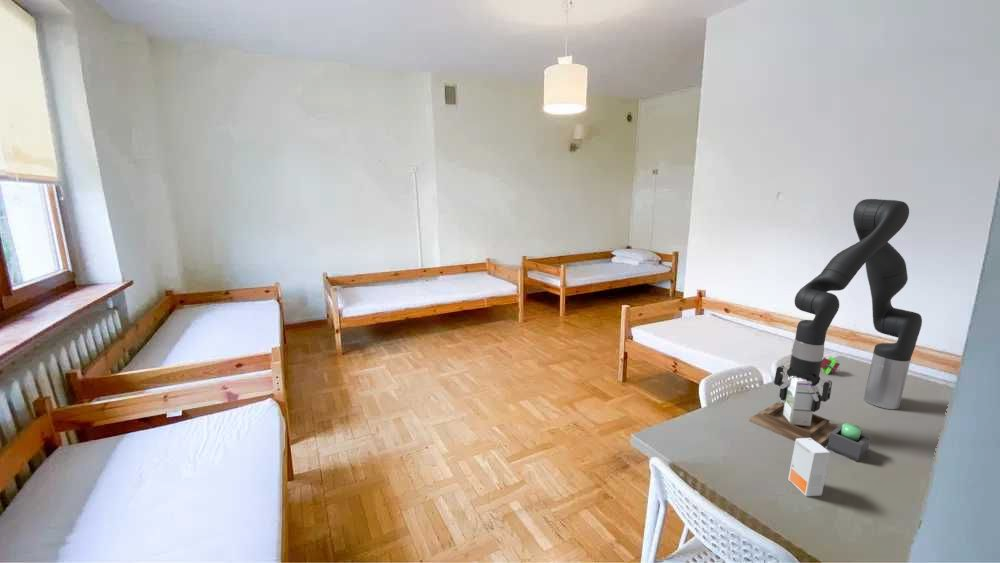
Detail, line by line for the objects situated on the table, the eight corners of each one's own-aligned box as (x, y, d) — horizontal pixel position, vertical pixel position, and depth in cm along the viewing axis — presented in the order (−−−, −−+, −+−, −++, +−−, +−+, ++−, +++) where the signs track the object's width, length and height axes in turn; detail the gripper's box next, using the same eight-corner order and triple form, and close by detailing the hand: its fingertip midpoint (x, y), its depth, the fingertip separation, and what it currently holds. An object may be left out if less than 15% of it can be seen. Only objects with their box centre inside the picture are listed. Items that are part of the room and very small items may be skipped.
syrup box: (811, 426, 127) (819, 382, 124) (789, 424, 128) (796, 380, 125) (802, 416, 133) (809, 373, 129) (781, 414, 134) (788, 372, 131)
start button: (843, 431, 120) (845, 421, 119) (861, 437, 117) (863, 428, 116) (838, 435, 118) (840, 425, 117) (856, 442, 115) (858, 432, 114)
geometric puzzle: (836, 364, 171) (827, 349, 170) (849, 372, 164) (838, 356, 163) (820, 374, 172) (810, 358, 171) (831, 381, 165) (820, 365, 164)
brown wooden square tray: (776, 405, 143) (777, 397, 142) (840, 430, 128) (842, 421, 128) (749, 421, 133) (750, 412, 133) (815, 450, 119) (817, 440, 118)
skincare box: (787, 480, 107) (794, 437, 104) (802, 479, 107) (810, 437, 104) (806, 497, 101) (814, 453, 98) (822, 496, 101) (831, 452, 98)
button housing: (836, 440, 123) (840, 425, 122) (867, 453, 117) (870, 437, 116) (826, 448, 119) (830, 432, 118) (857, 461, 114) (861, 445, 113)
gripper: (840, 360, 122) (830, 411, 126) (786, 345, 133) (778, 392, 137) (830, 366, 118) (820, 419, 122) (775, 350, 129) (767, 398, 133)
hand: (798, 405), depth 129 cm, fingers closed on syrup box, 8 cm apart
